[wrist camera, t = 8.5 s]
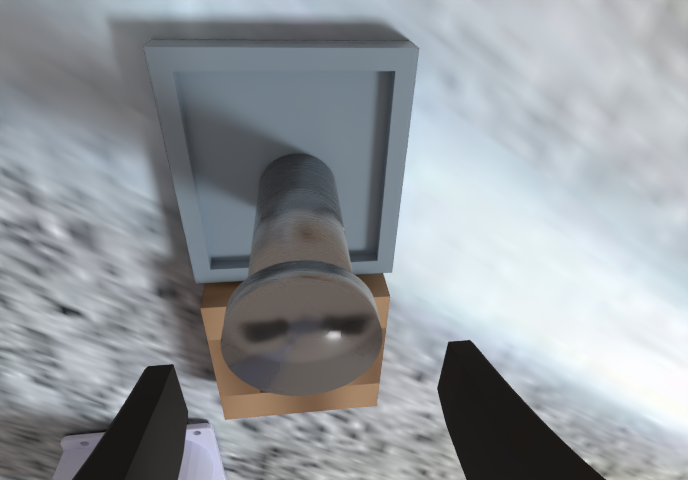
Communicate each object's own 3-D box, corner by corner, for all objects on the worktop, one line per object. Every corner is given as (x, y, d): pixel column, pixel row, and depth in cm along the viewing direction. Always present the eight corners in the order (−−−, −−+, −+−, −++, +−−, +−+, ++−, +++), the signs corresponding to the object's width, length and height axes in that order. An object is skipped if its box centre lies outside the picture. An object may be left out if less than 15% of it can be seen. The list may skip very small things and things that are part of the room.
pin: (251, 231, 20) (229, 400, 13) (242, 141, 18) (210, 288, 10) (345, 229, 21) (375, 391, 13) (349, 142, 18) (390, 282, 11)
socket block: (228, 384, 28) (225, 419, 26) (206, 275, 22) (200, 308, 20) (369, 373, 29) (376, 405, 27) (380, 265, 23) (390, 296, 21)
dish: (199, 267, 22) (195, 283, 21) (151, 39, 16) (143, 47, 15) (387, 257, 23) (391, 272, 22) (411, 41, 17) (419, 48, 16)
